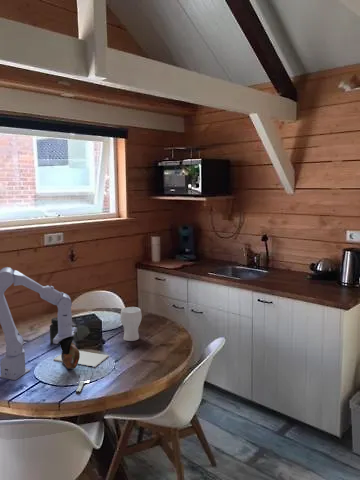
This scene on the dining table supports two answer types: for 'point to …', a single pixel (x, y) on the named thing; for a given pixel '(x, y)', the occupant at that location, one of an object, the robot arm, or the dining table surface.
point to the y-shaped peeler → (81, 386)
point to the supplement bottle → (53, 329)
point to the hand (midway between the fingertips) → (66, 353)
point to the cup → (131, 322)
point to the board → (87, 358)
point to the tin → (71, 357)
